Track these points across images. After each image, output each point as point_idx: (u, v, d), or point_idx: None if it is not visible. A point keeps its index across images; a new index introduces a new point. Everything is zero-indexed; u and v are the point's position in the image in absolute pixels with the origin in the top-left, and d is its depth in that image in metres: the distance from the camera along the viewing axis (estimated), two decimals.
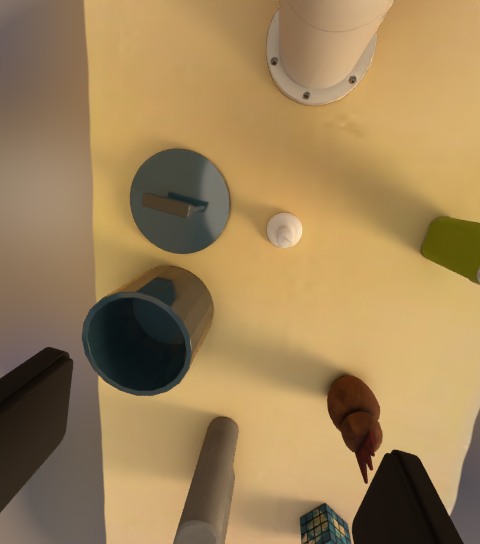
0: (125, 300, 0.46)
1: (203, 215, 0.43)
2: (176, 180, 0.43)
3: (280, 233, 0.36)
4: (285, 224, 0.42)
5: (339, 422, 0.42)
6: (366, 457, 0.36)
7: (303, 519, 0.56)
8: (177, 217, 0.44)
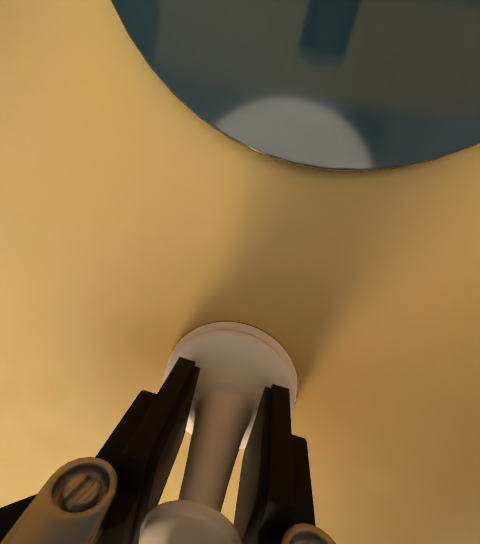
0: None
1: (302, 11, 0.08)
2: None
3: None
4: (253, 420, 0.10)
5: None
6: None
7: None
8: None
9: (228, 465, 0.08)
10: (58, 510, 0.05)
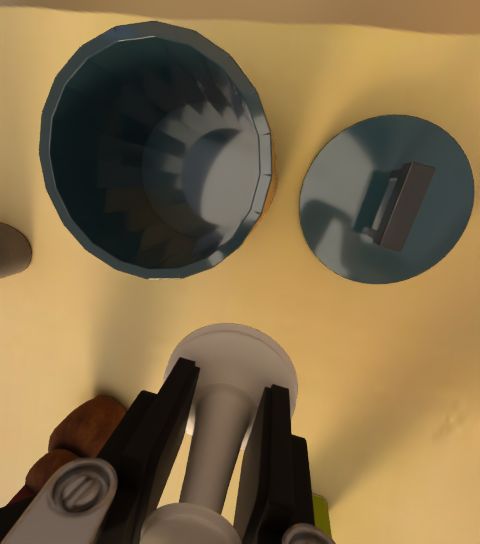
0: (220, 96, 0.25)
1: (359, 243, 0.28)
2: (421, 203, 0.26)
3: None
4: (253, 421, 0.10)
5: (64, 439, 0.30)
6: None
7: None
8: (360, 200, 0.27)
9: (228, 467, 0.08)
10: (58, 510, 0.05)
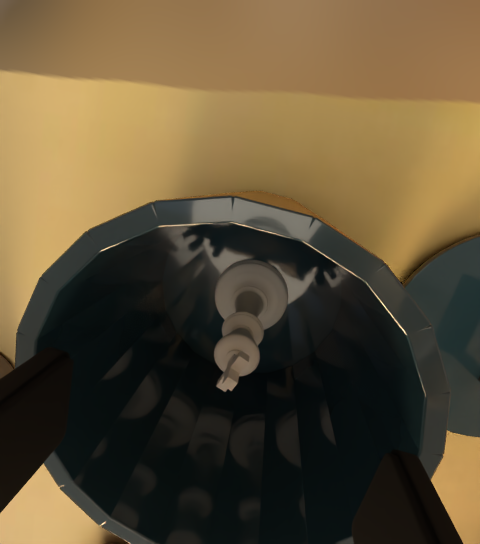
0: None
1: (465, 389, 0.21)
2: None
3: (252, 347, 0.13)
4: (265, 307, 0.19)
5: None
6: None
7: None
8: (470, 336, 0.20)
9: (255, 314, 0.17)
10: None
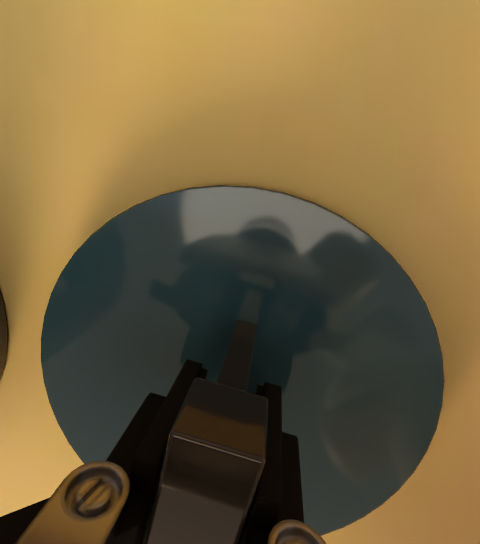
0: None
1: None
2: (316, 395, 0.11)
3: None
4: None
5: None
6: None
7: None
8: (174, 381, 0.11)
9: None
10: (70, 513, 0.05)
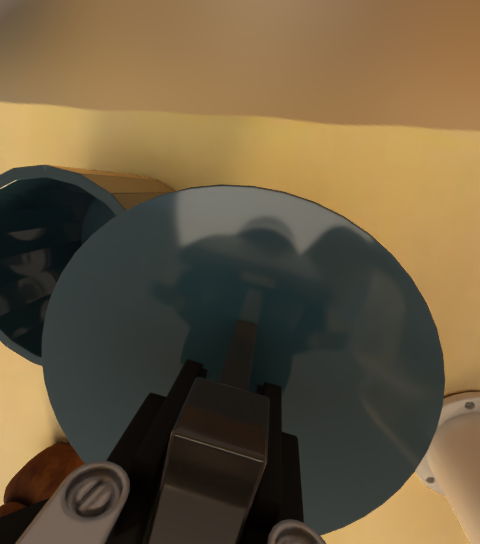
0: None
1: None
2: (316, 395, 0.11)
3: None
4: None
5: (16, 492, 0.33)
6: None
7: None
8: None
9: None
10: (71, 513, 0.05)
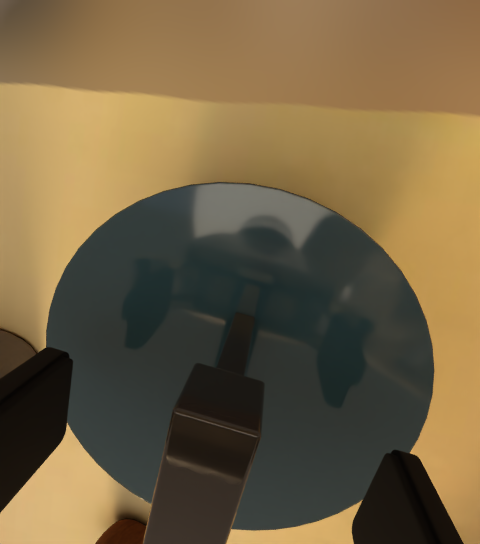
0: None
1: None
2: (311, 385, 0.11)
3: None
4: None
5: None
6: None
7: None
8: (175, 372, 0.12)
9: None
10: None
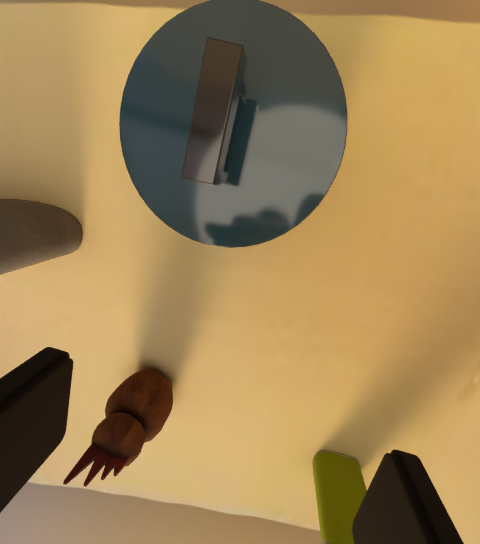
0: None
1: (204, 191, 0.20)
2: (278, 130, 0.19)
3: None
4: None
5: (121, 404, 0.33)
6: (95, 467, 0.28)
7: None
8: None
9: None
10: None
